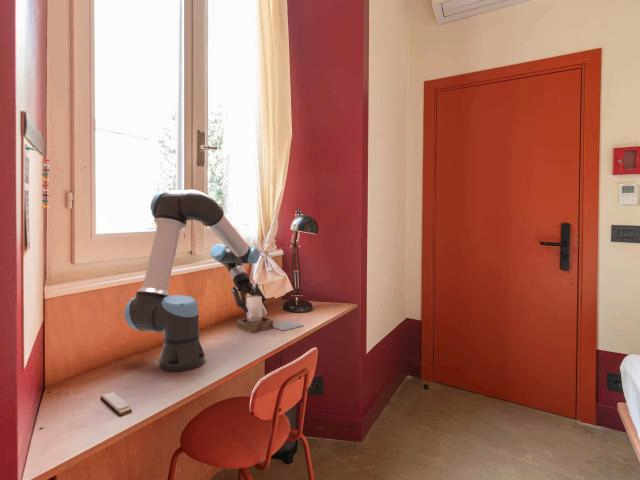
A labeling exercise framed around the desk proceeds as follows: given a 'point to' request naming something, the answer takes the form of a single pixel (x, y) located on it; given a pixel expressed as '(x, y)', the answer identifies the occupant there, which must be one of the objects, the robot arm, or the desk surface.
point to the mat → (286, 325)
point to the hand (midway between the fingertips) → (258, 316)
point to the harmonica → (116, 404)
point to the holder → (255, 325)
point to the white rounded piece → (255, 309)
